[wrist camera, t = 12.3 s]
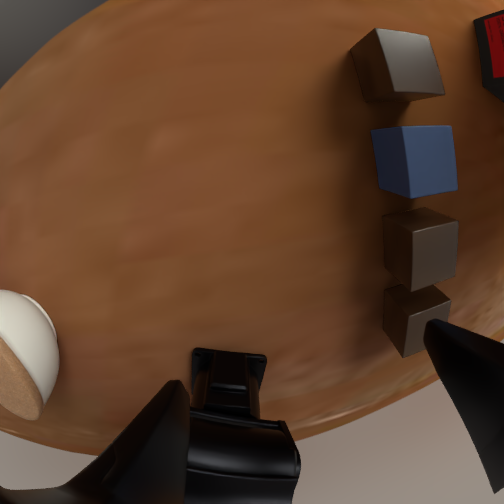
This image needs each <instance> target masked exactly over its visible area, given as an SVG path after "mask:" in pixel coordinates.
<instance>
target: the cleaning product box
mask: <svg viewBox="0 0 504 504" xmlns="http://www.w3.org/2000/svg"><path fill="white" fill-rule="evenodd" d="M474 24H475V29H476V34H477V39H478V46H479V52H480V60H481V69H482V81H483V87H484V88H486V89H487V90H488V91H490V92H491V93H492V94H494V95H495V96H496V97H498V98H499V99H500V100H501V101H503V102H504V10H501V11H498V12H495V13H492V14H489V15H486V16H483V17H480V18H478V19H475V20H474Z"/></svg>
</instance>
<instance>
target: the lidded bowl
mask: <svg viewBox="0 0 504 504" xmlns="http://www.w3.org/2000/svg"><path fill="white" fill-rule="evenodd" d="M58 372H59V349H58V344H57V334H56V330H55V328H54V325H53V323H52V321H51V319H50V318H49V316H48V314H47V313H46V312H45V310H44V309H43V308H42V307H41V306H40V305H39V304H38V303H37V302H36V301H35V300H33V299H32V298H30V297H29V296H26V295H23V294H18V293H16V292H13V291H9V290H0V404H1V405H2V406H4V407H5V408H6V409H8V410H9V411H11V412H12V413H14V414H16V415H18V416H19V417H22V418H24V419H27V420H37V419H38V418H39V417H40V416H41V414H42V412H43V410H44V406H45V404H46V402H47V401H48V399H49V397H50V395H51V393H52V391H53V388H54V386H55V383H56V379H57V376H58Z"/></svg>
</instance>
